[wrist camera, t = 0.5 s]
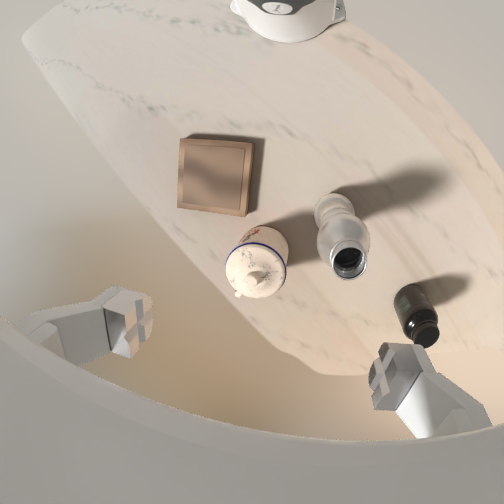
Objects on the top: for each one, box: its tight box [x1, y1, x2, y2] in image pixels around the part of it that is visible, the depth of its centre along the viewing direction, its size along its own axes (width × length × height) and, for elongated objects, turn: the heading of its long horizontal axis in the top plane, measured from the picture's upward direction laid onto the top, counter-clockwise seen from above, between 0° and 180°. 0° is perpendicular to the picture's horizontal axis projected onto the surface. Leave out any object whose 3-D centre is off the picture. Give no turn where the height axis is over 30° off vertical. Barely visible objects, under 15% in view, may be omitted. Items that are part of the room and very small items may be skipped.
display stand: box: [177, 138, 254, 217], centre depth 44 cm, size 12×12×2 cm
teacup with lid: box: [226, 226, 289, 298], centre depth 44 cm, size 12×9×12 cm
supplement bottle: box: [394, 285, 440, 349], centre depth 41 cm, size 7×7×12 cm
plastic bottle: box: [314, 193, 370, 280], centre depth 34 cm, size 6×7×20 cm
